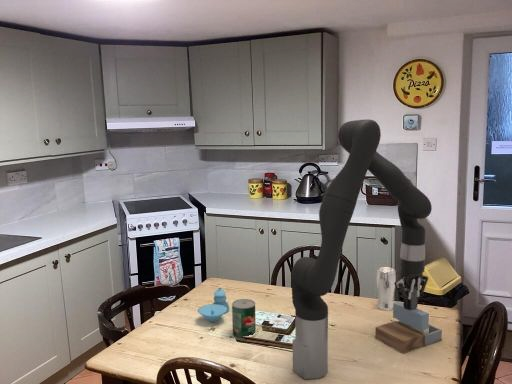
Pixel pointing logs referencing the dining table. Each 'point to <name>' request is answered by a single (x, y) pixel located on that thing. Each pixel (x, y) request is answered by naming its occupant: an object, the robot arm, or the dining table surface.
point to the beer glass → (385, 287)
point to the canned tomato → (243, 318)
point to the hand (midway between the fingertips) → (410, 307)
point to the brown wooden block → (399, 336)
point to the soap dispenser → (215, 307)
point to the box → (431, 335)
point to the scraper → (411, 313)
